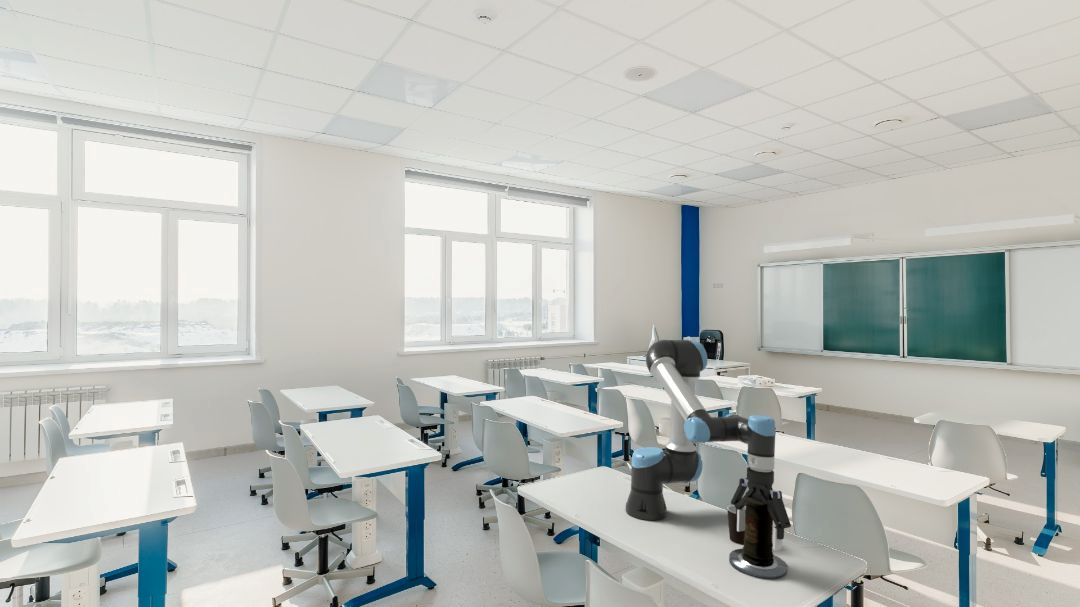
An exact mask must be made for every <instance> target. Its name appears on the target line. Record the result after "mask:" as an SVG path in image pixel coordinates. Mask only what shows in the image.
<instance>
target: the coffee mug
mask: <svg viewBox="0 0 1080 607" xmlns="http://www.w3.org/2000/svg"><path fill="white" fill-rule="evenodd" d="M726 509H727V521H728V523H727V524H728V533H729V540H730V541H731V542H733V543H735V544H738V545H742V546H744V537H745V531H740V532H738V531H737V518H736V508H735V506H734V505H729V506H727V507H726ZM742 509H746V506H745V508H742Z"/></svg>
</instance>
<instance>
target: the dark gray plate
mask: <svg viewBox="0 0 1080 607" xmlns="http://www.w3.org/2000/svg"><path fill="white" fill-rule="evenodd" d="M742 552H743V550H742V548H737V549H734V550H732V551H730V552H729V557H728V558H729V560H728V561H729V564H730V566H732V568H733V569H735V570H737V571H738V572H740V573H743V574H744V575H747V576H749V577H753V578H757V579H763V580H778V579H782V578H785V577H786V576H787V574H788V564H787V563H786V562H785V560H784V559H783V558H780V557H779V556H778V555H776V554H773V555H774V556H773V559H774V563H773V565H771V566H768V567H761V566H756V565H752V564H750V563H748V562H746V561H745V560H744V559H743V558H742Z"/></svg>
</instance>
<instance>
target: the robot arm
mask: <svg viewBox="0 0 1080 607" xmlns="http://www.w3.org/2000/svg"><path fill="white" fill-rule="evenodd" d="M645 363H646V364H645V365H646V367H647V369H648V372H649V373H650V375H651V376H652V377H653V378H655V379H657V380H658V382H659V383H660V385H661V387H662V388H663V389H664V391H665V393H666V394H667V396H668V397H669V398H670V419H669V420H670V421H669V423H670V424H669V440H668V442H667V443H666V444H665V445H664V449H662V448H661V447H657V446H646V447H640V448H637V449H635V450H634V451H633V453H632V457H631V463H630V465H631V477H630V478H631V480H630V492H629V494H628V496H627V500H626V503H625V512H626V514H628V515H629V516H631V517H633V518H635V519H638V520H643V521H660V520H663V519H665V518H666V517H667V516H668V513H667V512H668V507H667V505H666V501H665V497H664V494H663V493H664V492H663V491H664V490H663V488H664V485H668V484H670V485H671V484H687V483H693V482H696V481H697V480H698V479H699V478H700V476H701V474H702V471H703V464H704V463H703V460H702V456H701V453H699V452H698V450H697V447H696V446H695V444H694V443H701V444H704V443H705V444H706V443H715V442H716V443H718V442H722V443H723V442H741V443H743V444H746V445H747V462H746V463H747V464H746V465H747V466H748V467H747V468H746V477H744V478H743V477H742V478H741V477H740V479H739V481H738V486H737V487H736V491H735V492H734V494H733V496H732V498H731V499H730V504H731V506H733V505H734V506H735V508H736V518H737V531H738V532H740V531H745V510H746V509H742V508H745V507H746V506H745V501H744V498H745V497H746V496H747V497H751V496H752V497H753V498H754V499H758V500H759V501H761V502H763V504H766V505H767V509H768V511H769V513H770V515H771V517H772V519H773V524H774V525H775V526H773V530H772V543H773V547H772V551H780V550H782V549H783V540H784V539H785V529H788V528H791V527H792V524H791V521H790V518H789V515H788V513H787V509H786V506H785V504H784V501H783V492H782V491H781V490H774V489H773V485H774V483H775V481H774V480H775V471H774V470H775V458H776V457H775V454H776V452H775V451H776V448H775V447H776V434H777V431H776V421H775V419H774V418H773V417H771V416H766V415H760V414H758V415H757V414H753V415H750V416H748V418H746V417H743V416H741V415H739V414H731V413H730V414H729V413H728V414H726V415H725V416H711V415H710V414H709V412H708V411H707V410H706V408H705V406H704V405H703V404H702V402H701V401H700V400H699V398H698V396H697V395H696V382H697V380H698V379H700V378H701V372H702V371H705V369H706V367H707V366H708V354H707V351H706V349H705V347H704V345H703V344H702V343H700V342H699V341H697V340H691V339H690V340H689V339H660V340H657V341H656V342H654V343H653V344H652V345H651V346H650V347H649V348H648V350H647V351H646V356H645ZM747 488H748V490H747ZM744 494H745V495H744ZM768 499H769V501H767V500H768Z"/></svg>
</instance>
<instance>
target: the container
mask: <svg viewBox="0 0 1080 607" xmlns="http://www.w3.org/2000/svg"><path fill="white" fill-rule="evenodd" d="M744 501H745V507H746V510H745V537H744V545H742V548H741V549H742V550H743V552H742V558H743V559H744V560H745V561H746V562H748V563H750V564H752V565H756V566H761V567H768V566H771V565H773V563H774V559H773V556H774V555H775V554H774V553H773V527H774V526H773V525H774V521H773V519H772V517H771V515H770V513H769V511H768V509H767V505H766V504H763V502H761V501H759V500H758V499H754V498H753V497H752V496H751V497H747V496H746V497H745V498H744ZM767 501H769V499H768V500H767Z"/></svg>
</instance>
